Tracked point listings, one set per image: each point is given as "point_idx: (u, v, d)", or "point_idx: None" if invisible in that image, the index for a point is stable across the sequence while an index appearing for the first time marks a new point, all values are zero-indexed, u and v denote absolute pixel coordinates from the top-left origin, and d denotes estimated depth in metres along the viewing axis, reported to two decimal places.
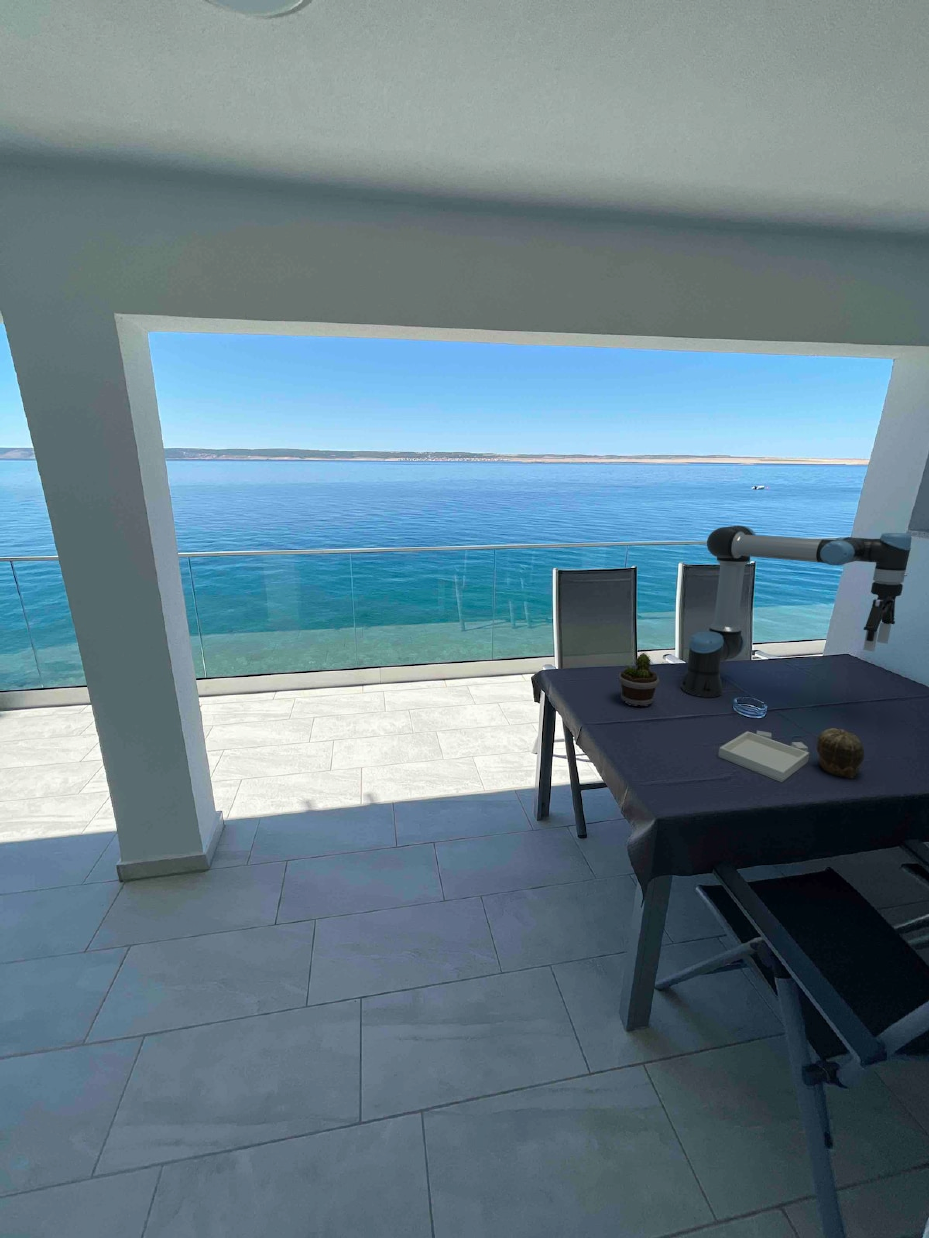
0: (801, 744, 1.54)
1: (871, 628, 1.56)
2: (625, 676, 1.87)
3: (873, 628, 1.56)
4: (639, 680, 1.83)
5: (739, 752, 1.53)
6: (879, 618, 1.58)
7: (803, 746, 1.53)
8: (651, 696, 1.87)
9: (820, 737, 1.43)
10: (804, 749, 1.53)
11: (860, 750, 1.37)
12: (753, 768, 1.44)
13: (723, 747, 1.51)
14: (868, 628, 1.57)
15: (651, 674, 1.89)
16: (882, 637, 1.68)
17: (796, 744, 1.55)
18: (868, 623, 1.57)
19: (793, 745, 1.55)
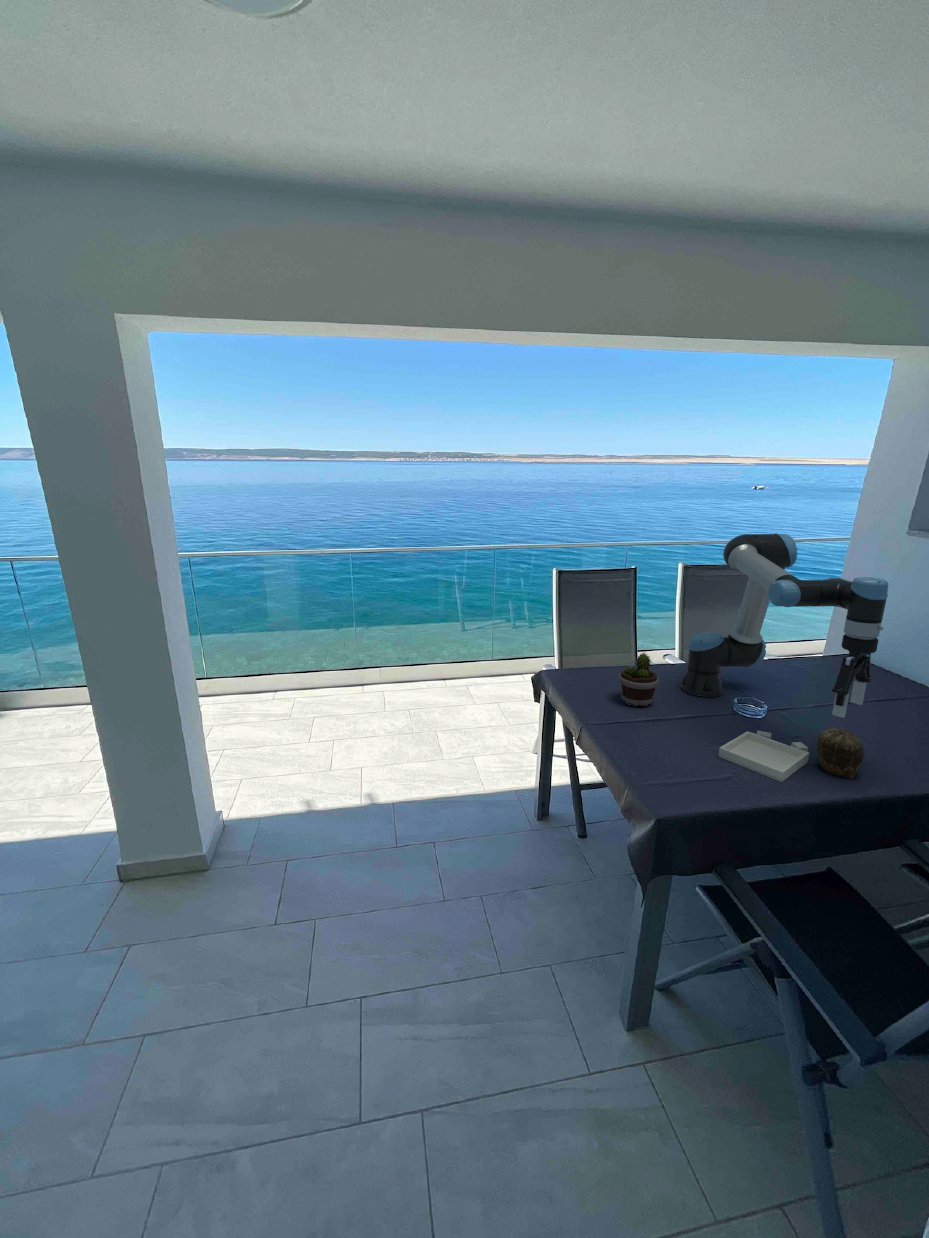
0: (801, 744, 1.55)
1: (840, 691, 1.31)
2: (625, 676, 1.87)
3: (843, 691, 1.31)
4: (639, 680, 1.83)
5: (739, 752, 1.53)
6: (850, 679, 1.33)
7: (803, 746, 1.53)
8: (651, 696, 1.87)
9: (820, 737, 1.43)
10: (804, 749, 1.53)
11: (860, 750, 1.37)
12: (753, 768, 1.44)
13: (723, 747, 1.51)
14: (837, 691, 1.32)
15: (651, 674, 1.89)
16: (856, 697, 1.43)
17: (796, 744, 1.54)
18: (837, 685, 1.32)
19: (793, 745, 1.55)
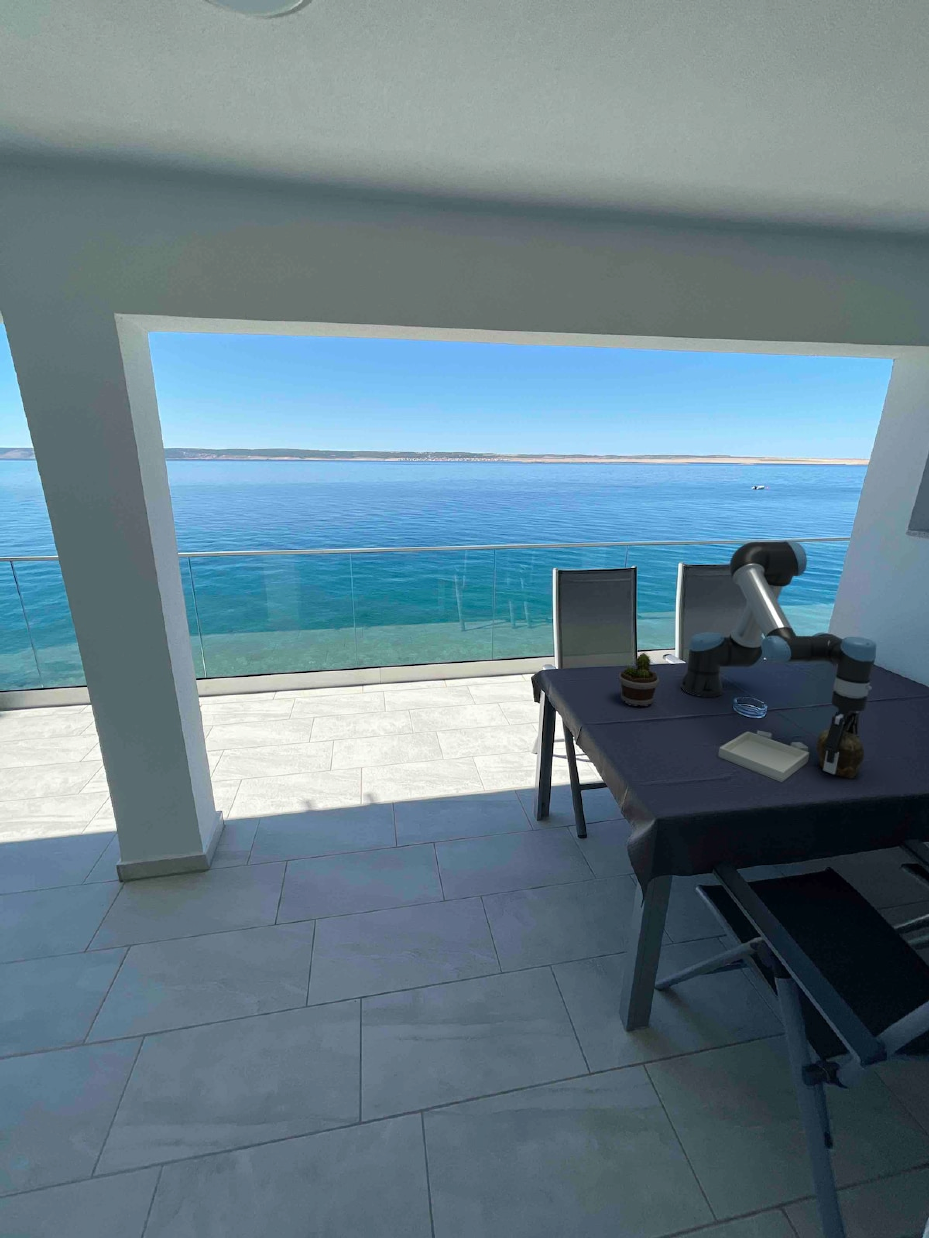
0: (801, 744, 1.55)
1: (831, 750, 1.36)
2: (625, 676, 1.87)
3: (833, 750, 1.35)
4: (639, 680, 1.83)
5: (739, 752, 1.53)
6: (840, 737, 1.37)
7: (803, 746, 1.53)
8: (651, 696, 1.87)
9: (820, 737, 1.43)
10: (804, 749, 1.53)
11: (860, 750, 1.37)
12: (753, 768, 1.44)
13: (723, 747, 1.51)
14: (827, 749, 1.36)
15: (651, 674, 1.89)
16: None
17: (796, 744, 1.54)
18: (827, 743, 1.37)
19: (793, 745, 1.55)
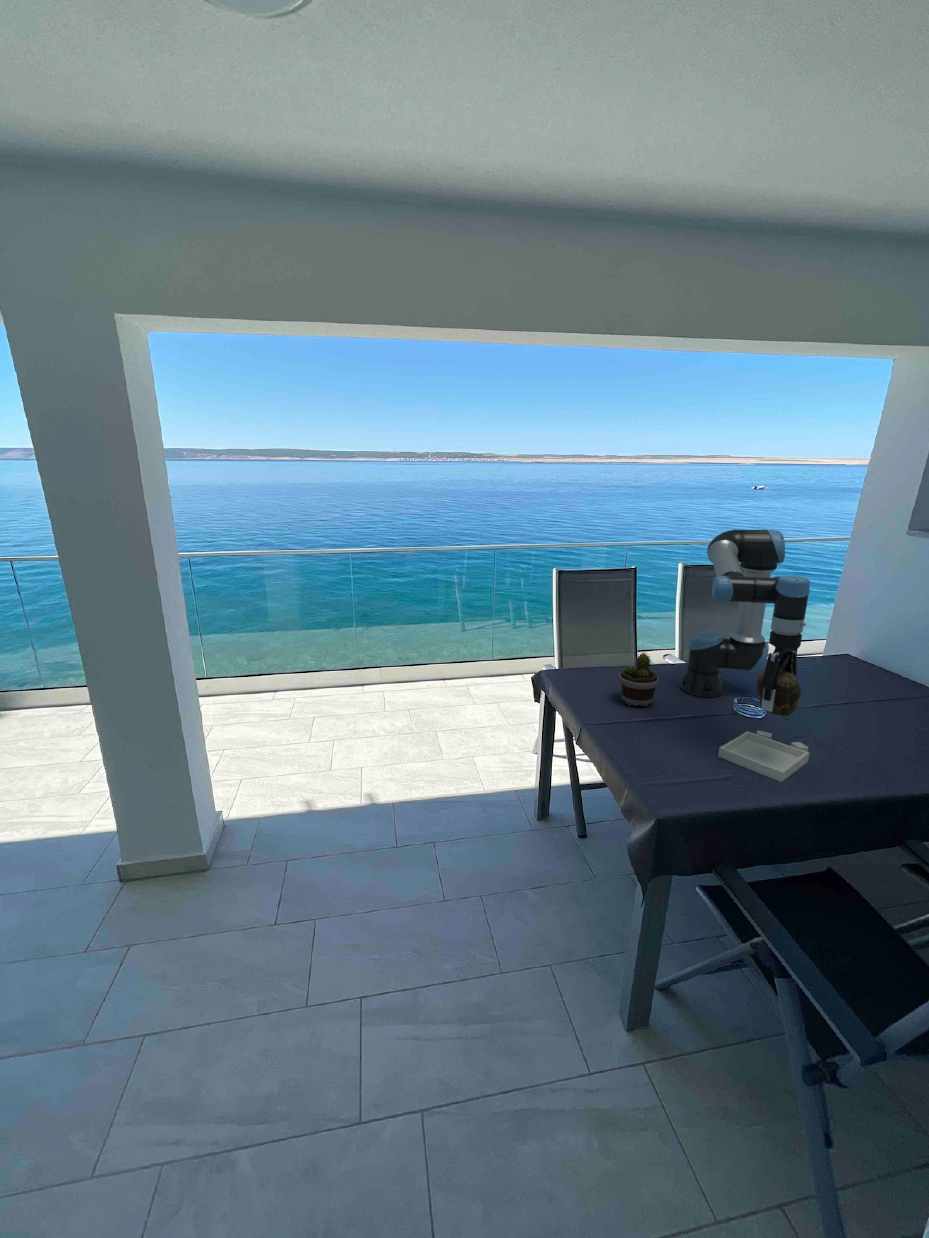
0: (801, 744, 1.55)
1: (767, 687, 1.38)
2: (625, 676, 1.87)
3: (768, 687, 1.37)
4: (639, 680, 1.83)
5: (739, 752, 1.53)
6: (776, 674, 1.39)
7: (803, 746, 1.53)
8: (651, 696, 1.87)
9: (759, 677, 1.45)
10: (805, 749, 1.53)
11: (796, 687, 1.39)
12: (753, 768, 1.44)
13: (723, 747, 1.51)
14: (764, 687, 1.38)
15: (651, 674, 1.89)
16: None
17: (796, 744, 1.54)
18: (763, 681, 1.39)
19: (793, 745, 1.55)
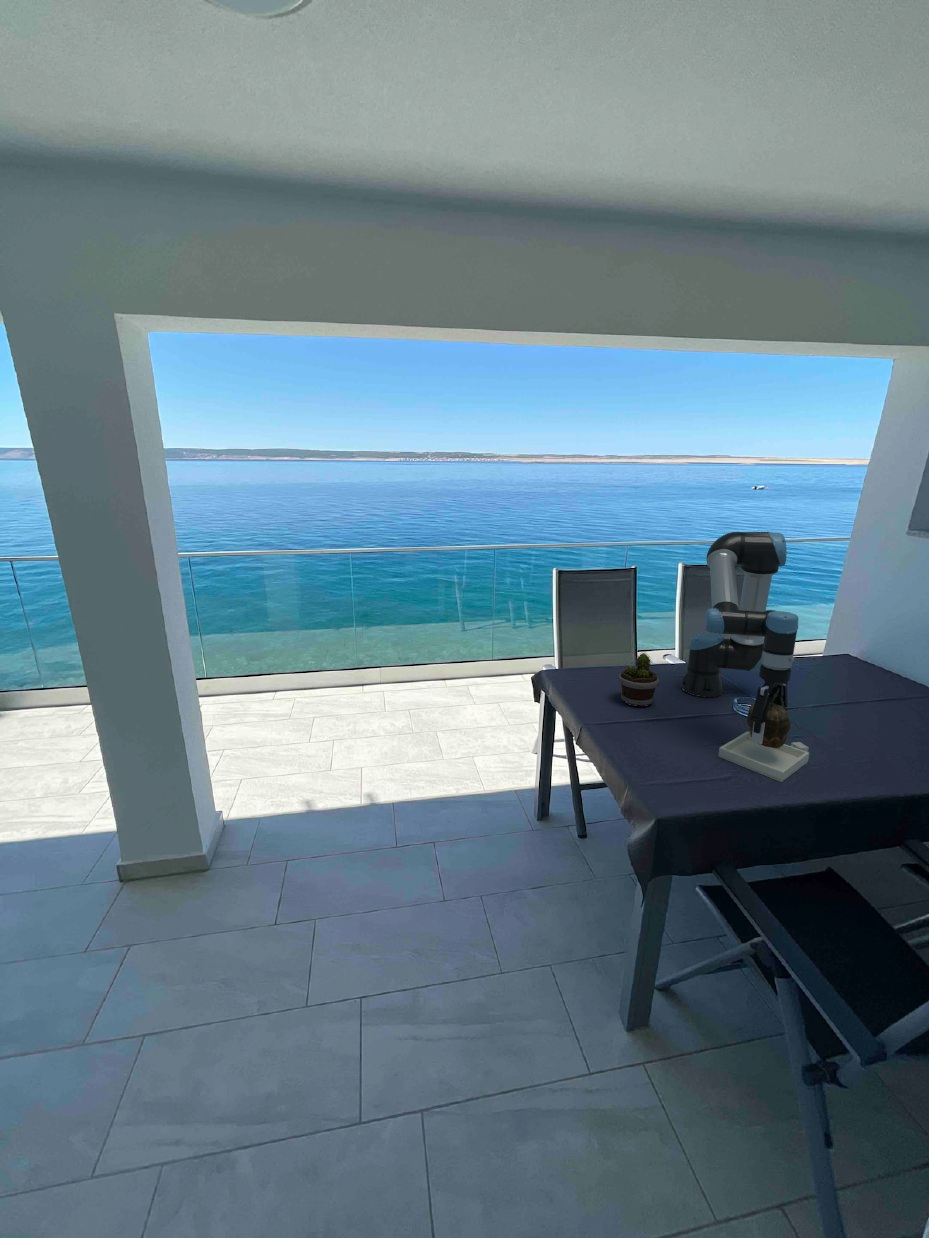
0: (801, 744, 1.55)
1: (756, 720, 1.41)
2: (625, 676, 1.87)
3: (758, 720, 1.40)
4: (639, 680, 1.83)
5: (739, 752, 1.53)
6: (766, 708, 1.42)
7: (803, 746, 1.53)
8: (651, 696, 1.87)
9: (749, 709, 1.48)
10: (805, 749, 1.53)
11: (785, 721, 1.42)
12: (753, 768, 1.44)
13: (723, 747, 1.51)
14: (753, 720, 1.41)
15: (651, 674, 1.89)
16: None
17: (796, 744, 1.54)
18: (753, 714, 1.41)
19: (793, 745, 1.55)
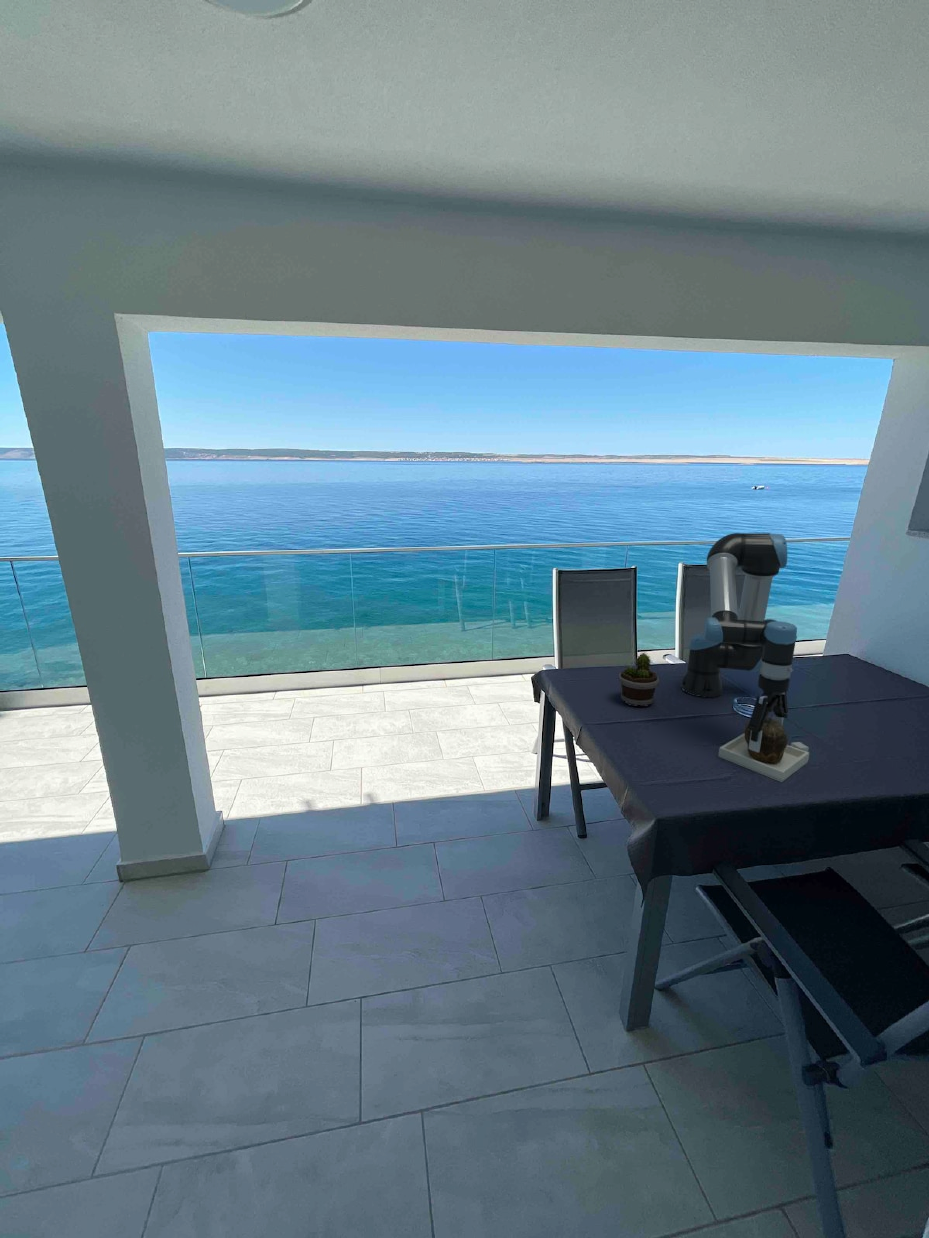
0: (800, 744, 1.55)
1: (753, 728, 1.41)
2: (625, 676, 1.87)
3: (755, 729, 1.40)
4: (639, 680, 1.83)
5: (739, 752, 1.53)
6: (763, 716, 1.42)
7: (803, 746, 1.53)
8: (651, 696, 1.87)
9: (747, 725, 1.49)
10: (805, 749, 1.53)
11: (782, 737, 1.43)
12: (753, 768, 1.44)
13: (723, 747, 1.51)
14: (750, 728, 1.41)
15: (651, 674, 1.89)
16: None
17: (796, 744, 1.54)
18: (751, 722, 1.42)
19: (793, 745, 1.55)
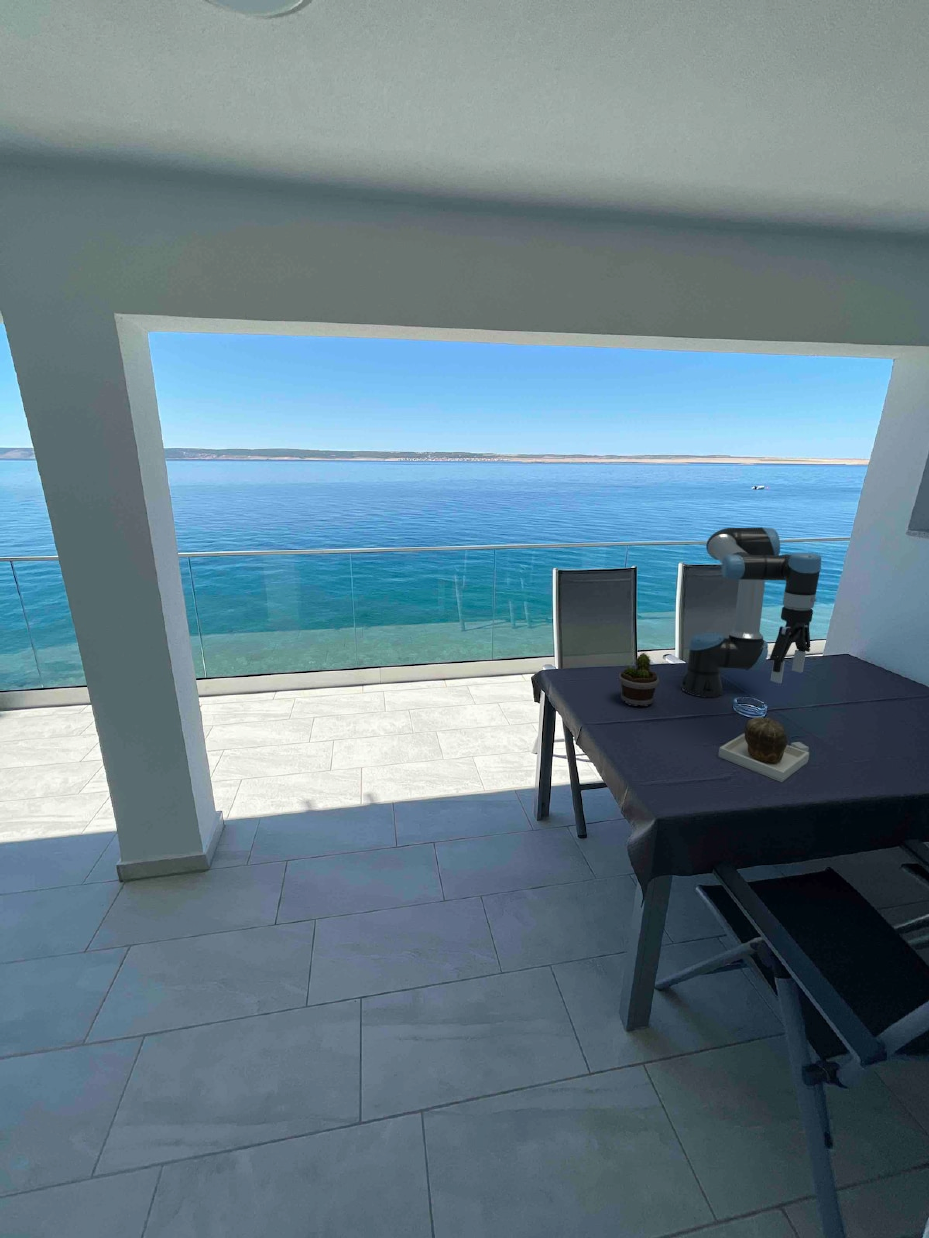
0: (800, 744, 1.55)
1: (776, 658, 1.42)
2: (625, 676, 1.87)
3: (778, 658, 1.41)
4: (639, 680, 1.83)
5: (739, 752, 1.53)
6: (786, 647, 1.43)
7: (803, 746, 1.53)
8: (651, 696, 1.87)
9: (747, 725, 1.49)
10: (805, 749, 1.53)
11: (782, 737, 1.43)
12: (753, 768, 1.44)
13: (723, 747, 1.51)
14: (773, 658, 1.42)
15: (651, 674, 1.89)
16: (797, 665, 1.53)
17: (796, 744, 1.54)
18: (773, 653, 1.43)
19: (793, 746, 1.55)
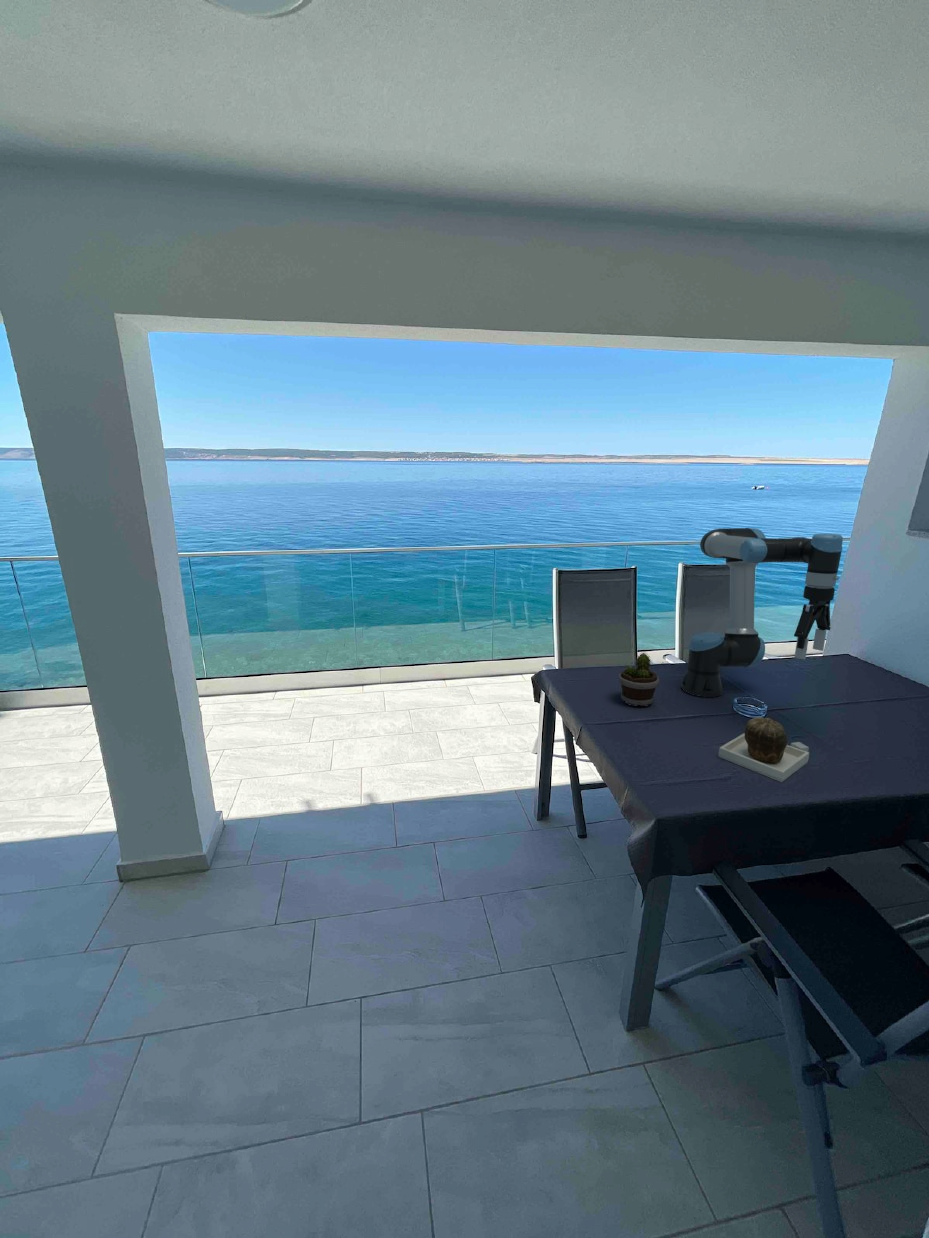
0: (800, 744, 1.55)
1: (800, 635, 1.47)
2: (625, 676, 1.87)
3: (802, 635, 1.47)
4: (639, 680, 1.83)
5: (739, 752, 1.53)
6: (810, 624, 1.49)
7: (803, 746, 1.53)
8: (651, 696, 1.87)
9: (747, 725, 1.49)
10: (805, 749, 1.53)
11: (782, 737, 1.43)
12: (753, 768, 1.44)
13: (723, 747, 1.51)
14: (798, 635, 1.48)
15: (651, 674, 1.89)
16: (817, 644, 1.59)
17: (796, 744, 1.54)
18: (798, 629, 1.48)
19: (793, 746, 1.55)
